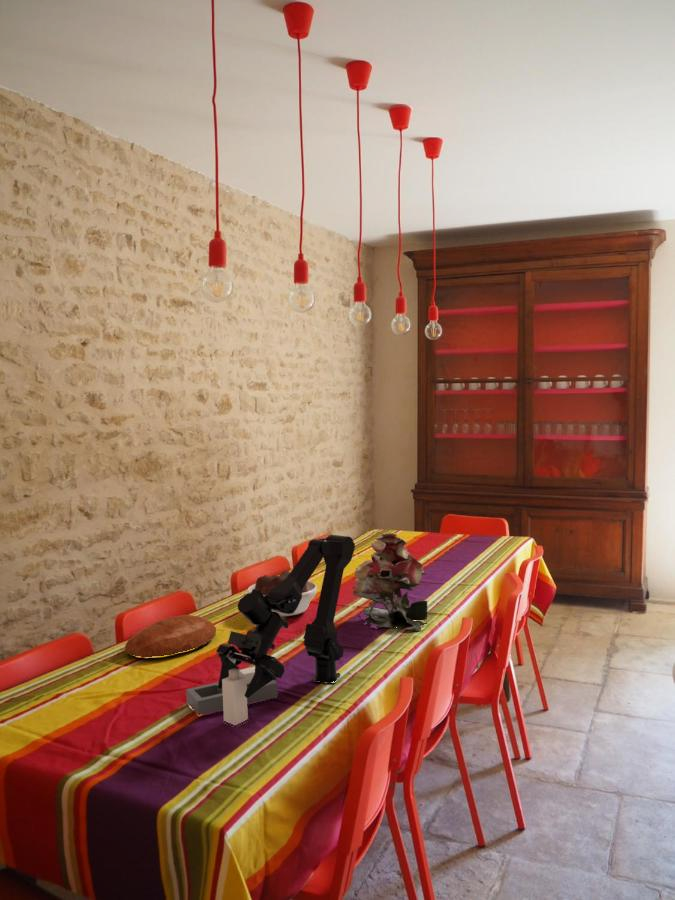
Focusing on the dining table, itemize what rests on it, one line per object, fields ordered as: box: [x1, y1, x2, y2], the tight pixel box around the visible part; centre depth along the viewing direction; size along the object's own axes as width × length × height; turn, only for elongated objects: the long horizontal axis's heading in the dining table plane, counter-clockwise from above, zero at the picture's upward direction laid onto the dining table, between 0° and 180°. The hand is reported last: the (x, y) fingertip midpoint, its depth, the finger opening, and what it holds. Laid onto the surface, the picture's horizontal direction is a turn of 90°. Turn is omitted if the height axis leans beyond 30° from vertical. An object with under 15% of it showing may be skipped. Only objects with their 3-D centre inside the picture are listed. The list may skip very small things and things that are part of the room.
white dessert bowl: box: [246, 570, 318, 617], centre depth 264 cm, size 25×25×15 cm
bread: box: [124, 614, 217, 657], centre depth 232 cm, size 23×32×9 cm
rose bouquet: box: [352, 532, 428, 632], centre depth 252 cm, size 26×29×30 cm
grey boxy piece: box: [185, 666, 279, 715], centre depth 186 cm, size 21×9×7 cm, turn 120°
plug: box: [222, 668, 249, 725], centre depth 174 cm, size 4×4×12 cm
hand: (232, 692), depth 173 cm, fingers open, 9 cm apart
